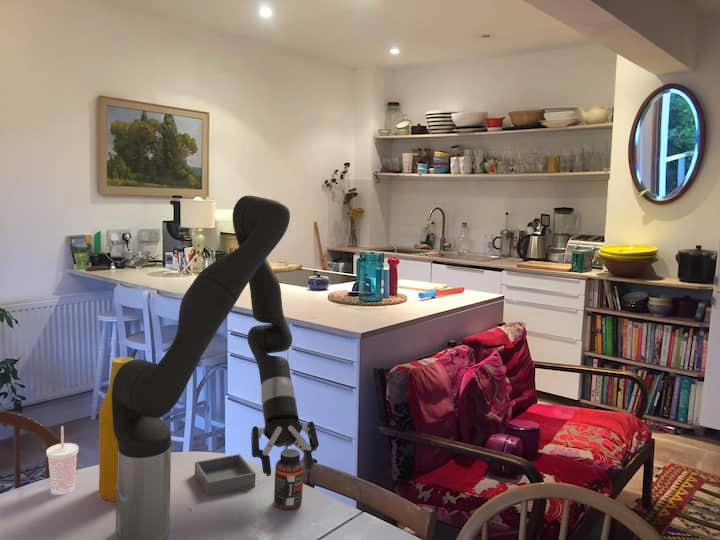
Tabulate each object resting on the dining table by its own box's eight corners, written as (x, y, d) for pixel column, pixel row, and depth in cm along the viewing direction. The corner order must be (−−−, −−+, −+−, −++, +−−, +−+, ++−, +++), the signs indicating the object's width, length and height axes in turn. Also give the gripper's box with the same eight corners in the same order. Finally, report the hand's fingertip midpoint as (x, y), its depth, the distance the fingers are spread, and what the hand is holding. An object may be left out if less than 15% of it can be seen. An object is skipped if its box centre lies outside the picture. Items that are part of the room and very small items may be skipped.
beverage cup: (40, 491, 126) (39, 427, 124) (66, 479, 131) (65, 418, 129) (59, 499, 123) (58, 434, 121) (85, 487, 128) (84, 424, 126)
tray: (208, 496, 127) (208, 482, 127) (194, 474, 136) (194, 462, 136) (255, 486, 133) (255, 473, 132) (239, 465, 142) (239, 453, 141)
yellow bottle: (93, 487, 128) (93, 356, 124) (137, 477, 134) (138, 351, 130) (105, 507, 121) (105, 368, 117) (151, 495, 127) (153, 362, 123)
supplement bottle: (297, 512, 123) (299, 460, 121) (269, 508, 124) (271, 456, 123) (305, 498, 129) (307, 448, 127) (279, 494, 130) (281, 444, 128)
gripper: (249, 396, 130) (258, 470, 120) (313, 392, 135) (325, 462, 125) (245, 411, 135) (252, 482, 126) (305, 406, 140) (317, 474, 131)
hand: (289, 472), depth 126 cm, fingers open, 8 cm apart
